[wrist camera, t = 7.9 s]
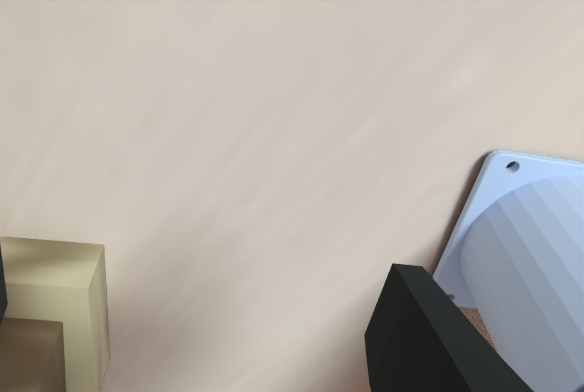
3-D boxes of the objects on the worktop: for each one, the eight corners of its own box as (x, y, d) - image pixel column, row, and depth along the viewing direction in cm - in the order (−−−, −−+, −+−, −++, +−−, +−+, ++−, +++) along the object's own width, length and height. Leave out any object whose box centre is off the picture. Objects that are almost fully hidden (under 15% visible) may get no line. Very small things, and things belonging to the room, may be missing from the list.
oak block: (106, 239, 23) (88, 288, 21) (111, 350, 27) (96, 403, 25) (-72, 224, 22) (-113, 274, 20) (-40, 341, 26) (-71, 395, 24)
